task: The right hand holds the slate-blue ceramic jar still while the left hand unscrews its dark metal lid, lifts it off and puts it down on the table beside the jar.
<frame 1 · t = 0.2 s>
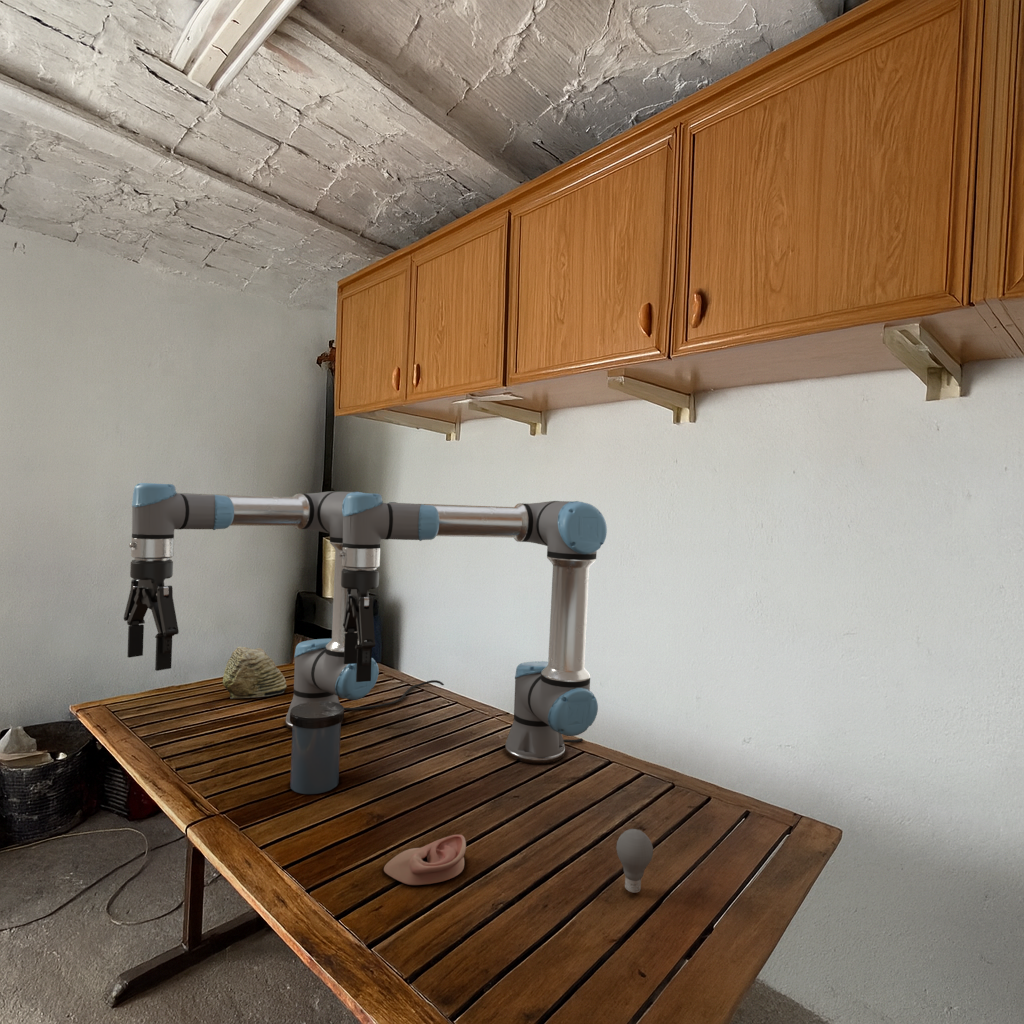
left hand: (148, 662, 129), 28 cm above the table, tool pointing down, fingers open, 13 cm apart
right hand: (356, 672, 129), 28 cm above the table, tool pointing down, fingers open, 13 cm apart
light bulb: (632, 891, 106), on the table
fossil: (254, 694, 198), on the table
jar: (314, 783, 140), on the table
anatomical model: (425, 867, 110), on the table
lid: (317, 710, 139), point 16 cm above the table, screwed on, not yet turned
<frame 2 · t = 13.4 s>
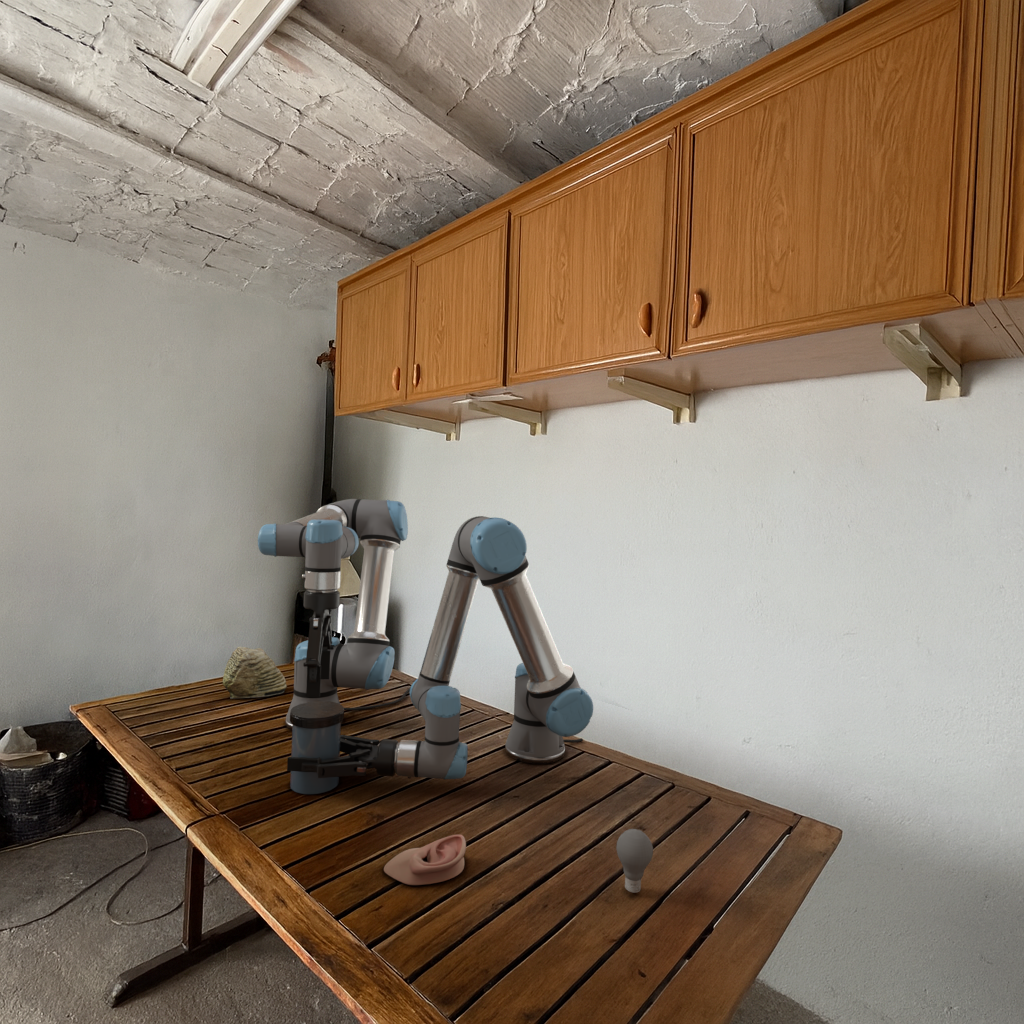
left hand: (318, 687, 139), 21 cm above the table, tool pointing down, fingers open, 12 cm apart
right hand: (296, 753, 140), 7 cm above the table, tool horizontal, fingers closed on jar, 10 cm apart
jar: (314, 783, 140), on the table, touching right hand
everything else where it was.
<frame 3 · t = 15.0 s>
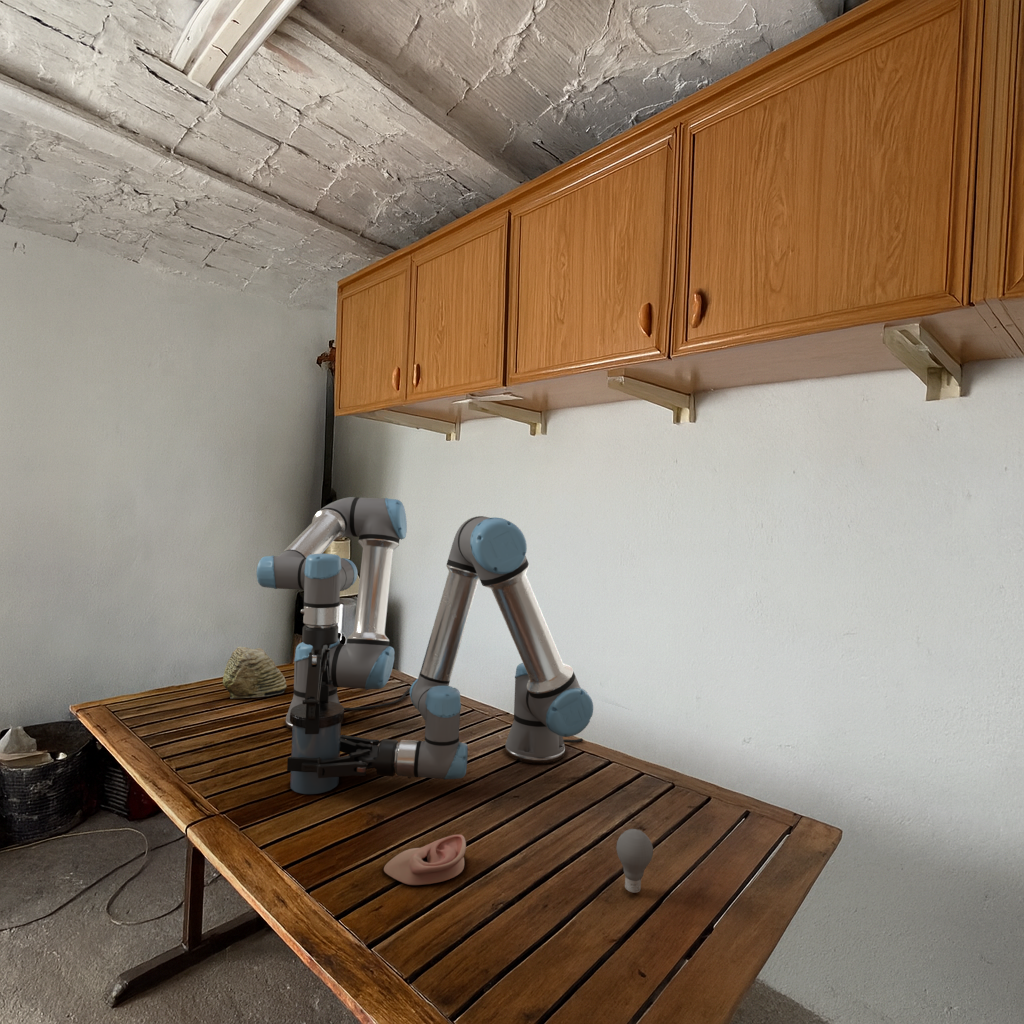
left hand: (316, 723, 139), 13 cm above the table, tool pointing down, fingers closed on lid, 11 cm apart
right hand: (296, 753, 140), 6 cm above the table, tool horizontal, fingers closed on jar, 10 cm apart
jar: (314, 783, 140), on the table, touching right hand
lid: (317, 710, 139), point 16 cm above the table, screwed on, not yet turned, touching left hand
everything else where it was.
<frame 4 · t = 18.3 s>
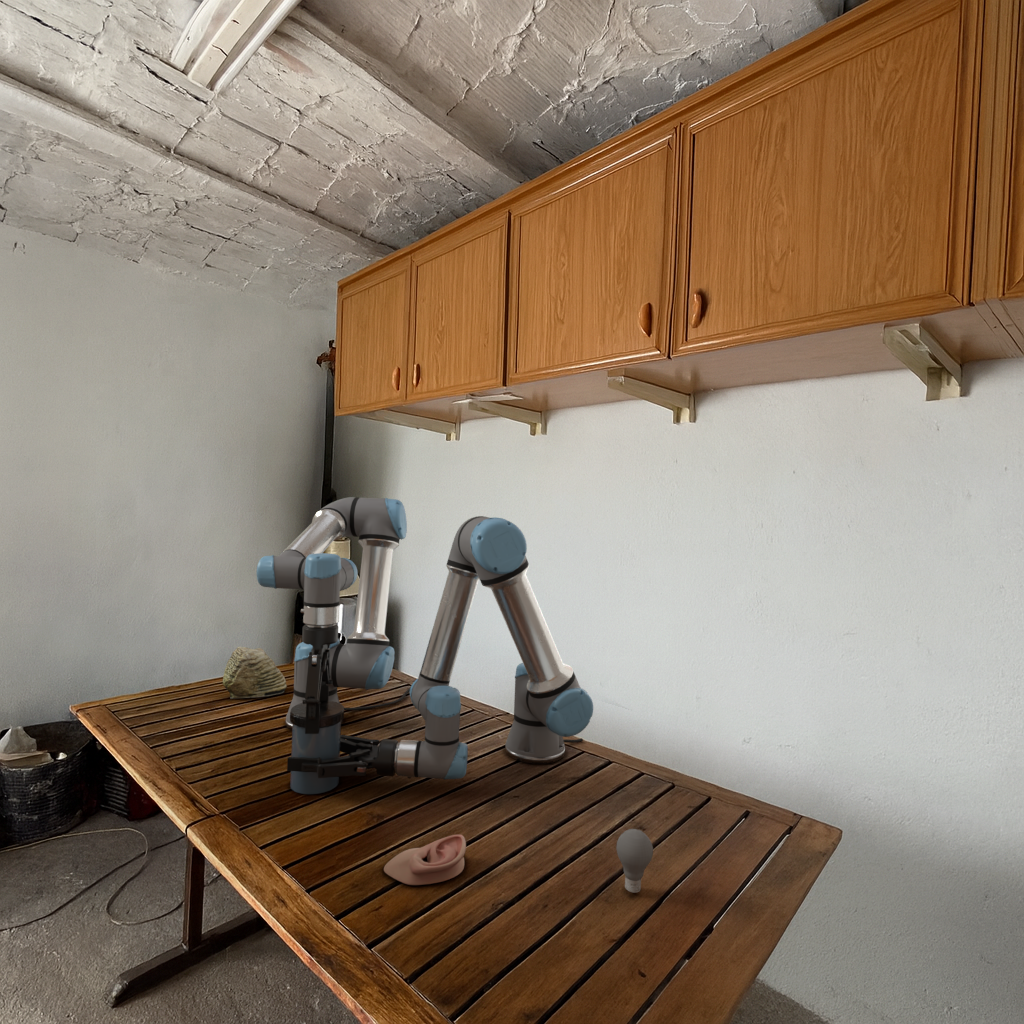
left hand: (317, 723, 139), 13 cm above the table, tool pointing down, fingers closed on lid, 11 cm apart
right hand: (296, 753, 140), 7 cm above the table, tool horizontal, fingers closed on jar, 10 cm apart
jar: (314, 783, 140), on the table, touching right hand
lid: (317, 710, 139), point 16 cm above the table, turned 93° so far, risen 0.1 cm, still on its thread, touching left hand
everything else where it was.
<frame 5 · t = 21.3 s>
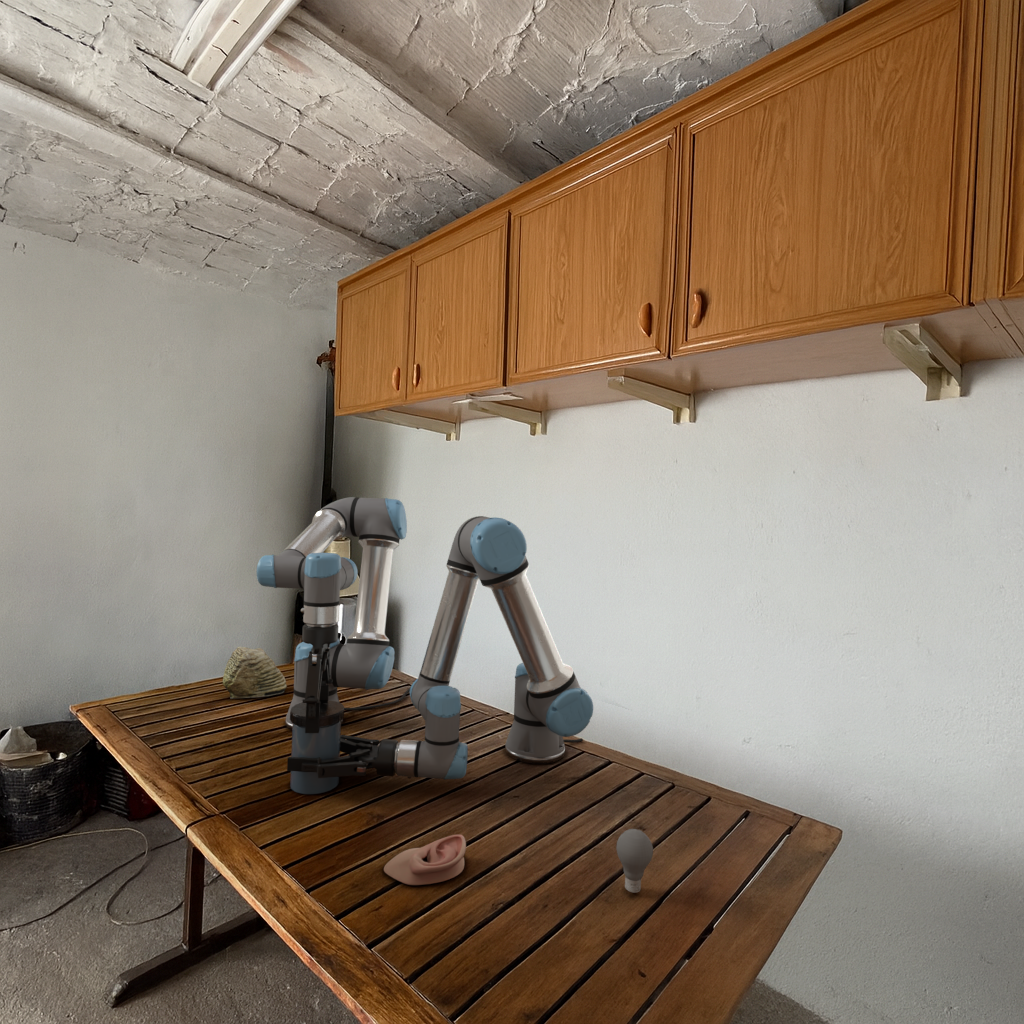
left hand: (317, 722, 139), 14 cm above the table, tool pointing down, fingers closed on lid, 11 cm apart
right hand: (296, 753, 140), 6 cm above the table, tool horizontal, fingers closed on jar, 10 cm apart
jar: (314, 783, 140), on the table, touching right hand
lid: (317, 709, 139), point 16 cm above the table, turned 187° so far, risen 0.3 cm, still on its thread, touching left hand
everything else where it was.
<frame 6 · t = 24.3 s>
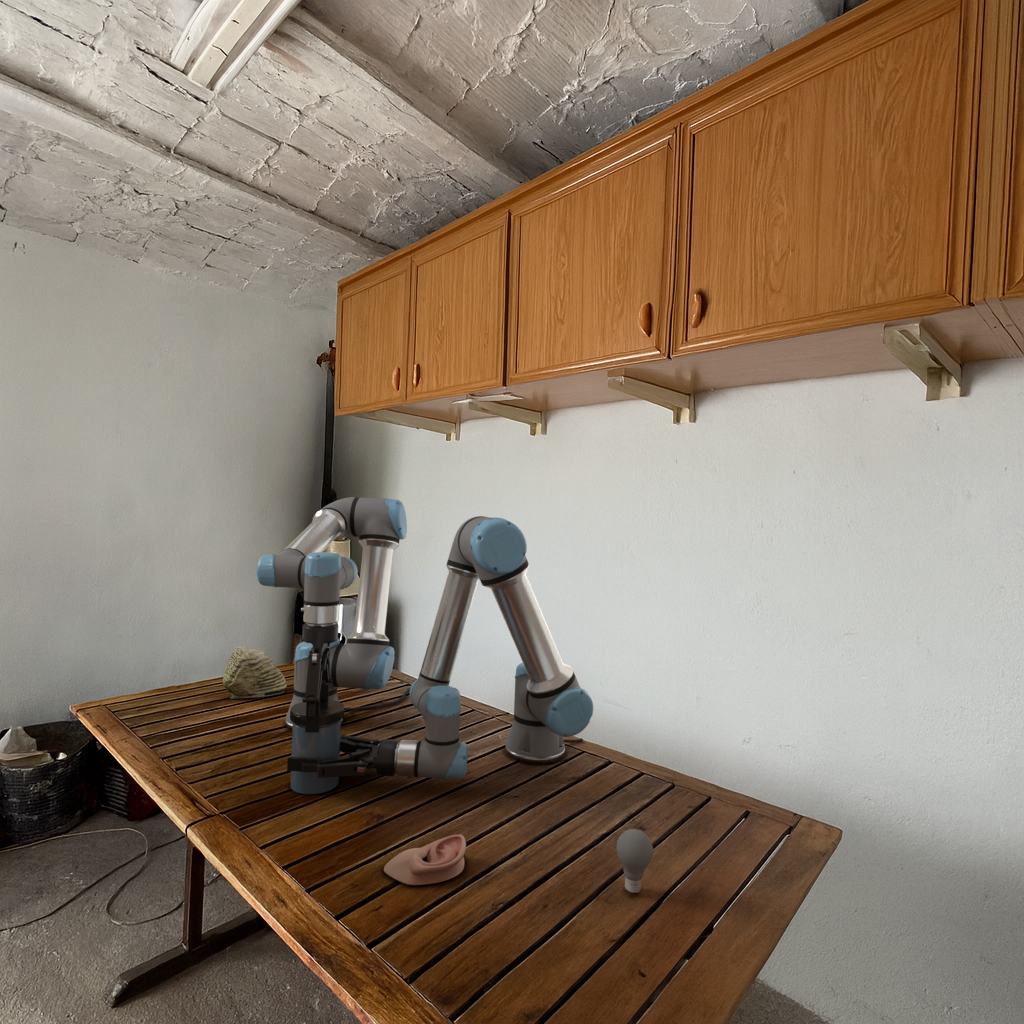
left hand: (317, 721, 140), 14 cm above the table, tool pointing down, fingers closed on lid, 11 cm apart
right hand: (296, 753, 140), 6 cm above the table, tool horizontal, fingers closed on jar, 10 cm apart
jar: (314, 783, 140), on the table, touching right hand
lid: (317, 708, 139), point 17 cm above the table, turned 280° so far, risen 0.4 cm, still on its thread, touching left hand
everything else where it was.
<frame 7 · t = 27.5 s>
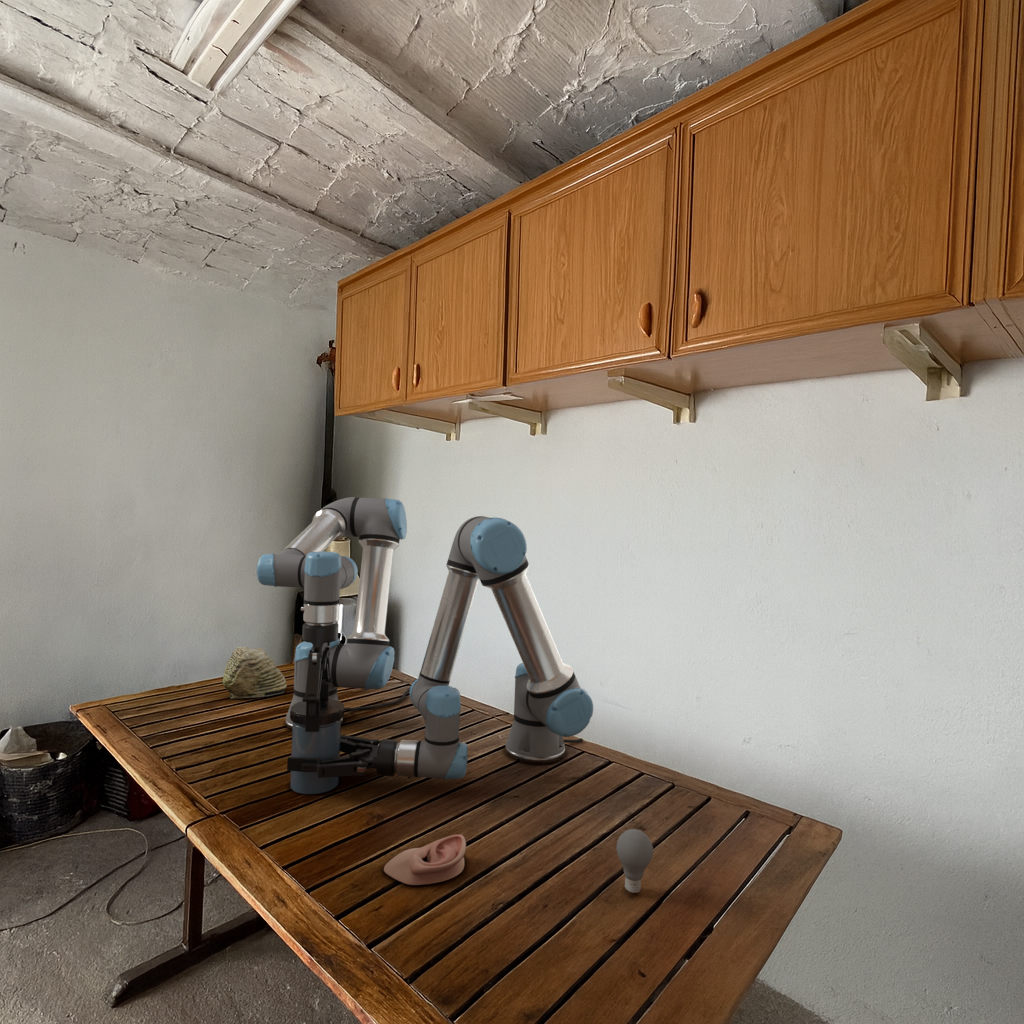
left hand: (317, 721, 140), 14 cm above the table, tool pointing down, fingers closed on lid, 11 cm apart
right hand: (296, 753, 140), 6 cm above the table, tool horizontal, fingers closed on jar, 10 cm apart
jar: (314, 783, 140), on the table, touching right hand
lid: (317, 708, 139), point 17 cm above the table, turned 373° so far, risen 0.6 cm, still on its thread, touching left hand
everything else where it was.
when the left hand's fingers open (0 cm above the table, at t = 33.6 s): lid drops 1 cm, point 2 cm above the table.
when the right hand's fingers open (6 cm above the table, at t = 34.7 s): jar stays where it is, on the table.
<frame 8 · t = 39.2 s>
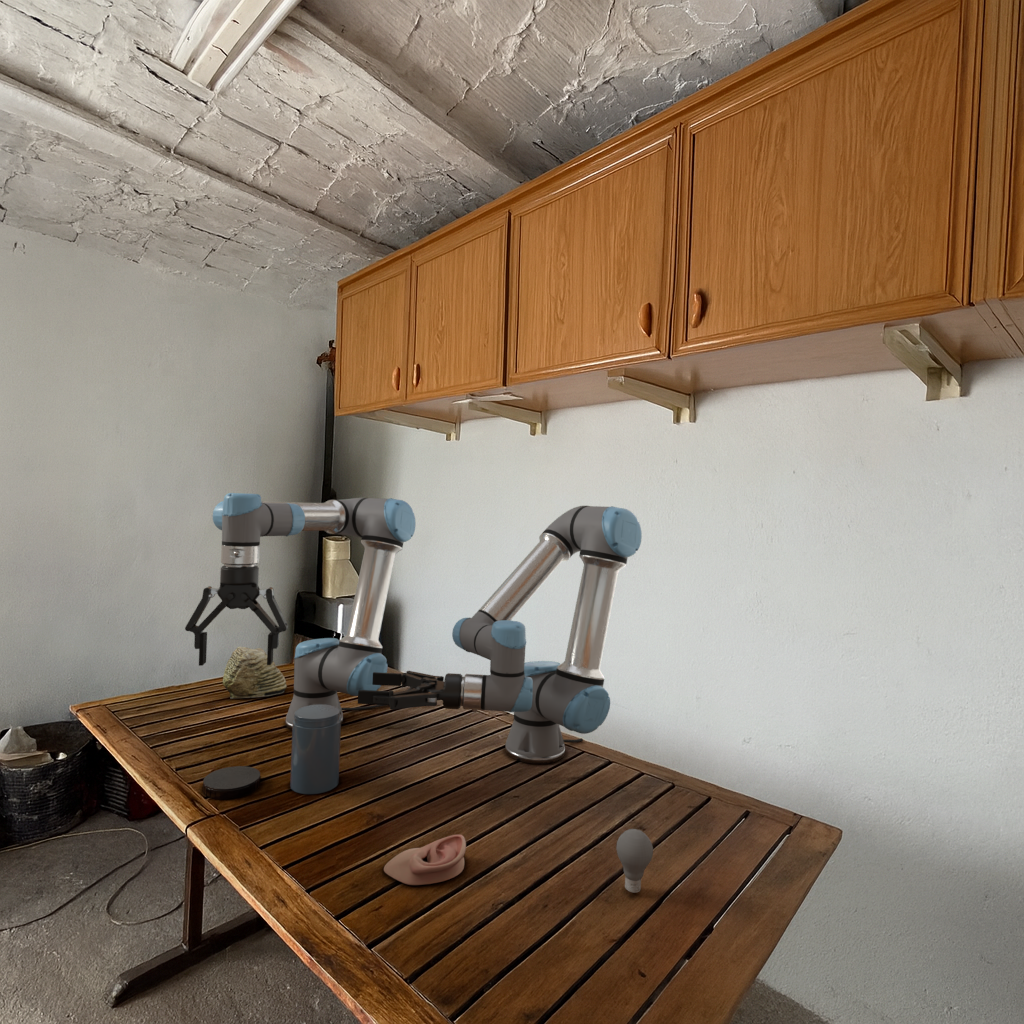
left hand: (236, 663, 136), 27 cm above the table, tool pointing down, fingers open, 13 cm apart
right hand: (365, 687, 139), 22 cm above the table, tool horizontal, fingers open, 13 cm apart
jar: (314, 783, 140), on the table
lid: (232, 778, 136), point 2 cm above the table, off its thread
everything else where it was.
at the end: lid came off its thread; lid point 1.9 cm above the table; the left hand is holding nothing; the right hand is holding nothing; jar tilted 0°; jar moved 0.0 cm from its start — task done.
